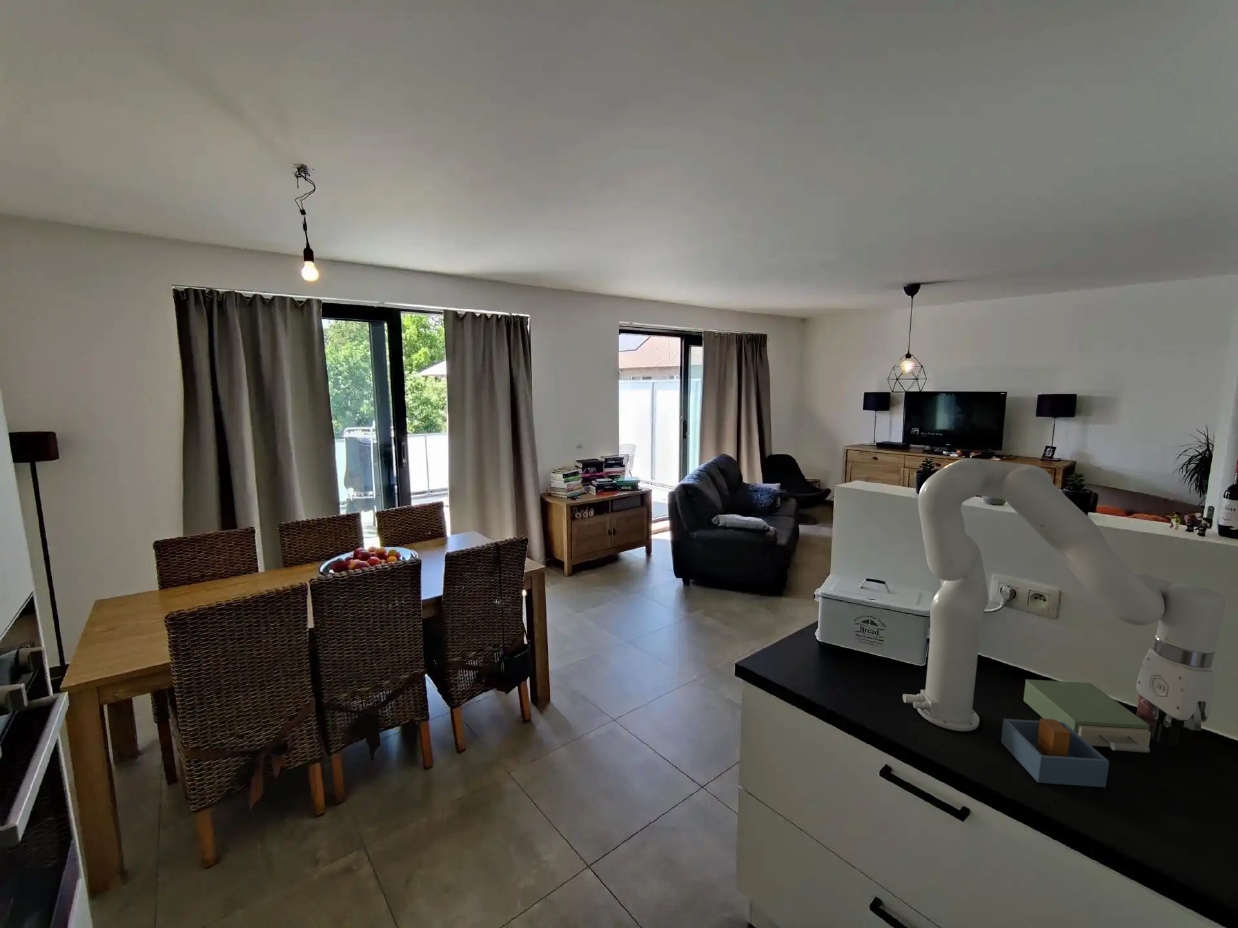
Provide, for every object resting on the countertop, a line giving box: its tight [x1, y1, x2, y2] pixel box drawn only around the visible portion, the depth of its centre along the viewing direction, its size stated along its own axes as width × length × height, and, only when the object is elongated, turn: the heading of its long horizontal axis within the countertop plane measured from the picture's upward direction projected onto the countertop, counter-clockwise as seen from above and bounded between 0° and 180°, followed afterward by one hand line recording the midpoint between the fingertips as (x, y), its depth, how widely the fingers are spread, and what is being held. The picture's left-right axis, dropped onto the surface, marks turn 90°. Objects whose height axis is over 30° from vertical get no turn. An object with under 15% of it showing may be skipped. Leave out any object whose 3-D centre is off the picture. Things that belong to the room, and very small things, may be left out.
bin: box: [1000, 718, 1110, 788], centre depth 110 cm, size 12×12×6 cm
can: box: [1135, 693, 1157, 743], centre depth 118 cm, size 6×6×14 cm
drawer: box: [1077, 725, 1151, 753], centre depth 119 cm, size 20×13×4 cm
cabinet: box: [1023, 679, 1150, 748], centre depth 123 cm, size 17×15×6 cm
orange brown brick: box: [1036, 718, 1070, 757], centre depth 110 cm, size 3×4×8 cm
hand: (1164, 741), depth 102 cm, fingers closed
